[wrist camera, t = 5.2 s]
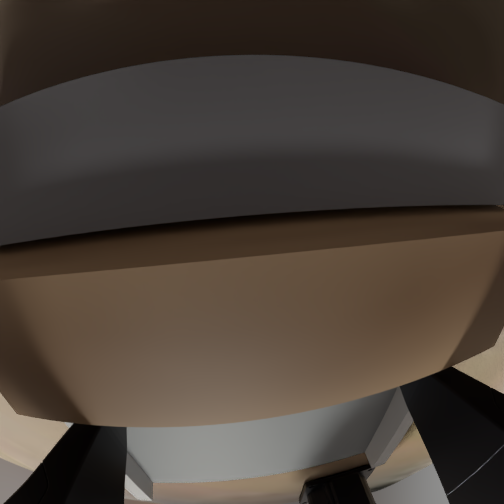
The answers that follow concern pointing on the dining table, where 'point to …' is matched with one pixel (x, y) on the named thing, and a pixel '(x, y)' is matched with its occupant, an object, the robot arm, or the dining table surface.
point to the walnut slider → (245, 313)
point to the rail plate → (245, 199)
